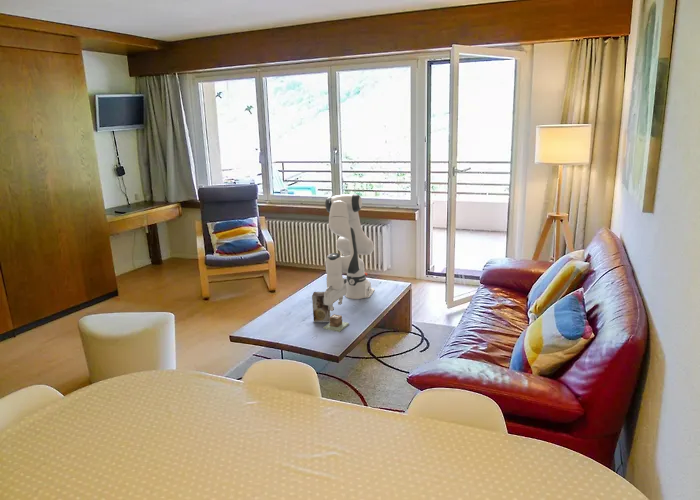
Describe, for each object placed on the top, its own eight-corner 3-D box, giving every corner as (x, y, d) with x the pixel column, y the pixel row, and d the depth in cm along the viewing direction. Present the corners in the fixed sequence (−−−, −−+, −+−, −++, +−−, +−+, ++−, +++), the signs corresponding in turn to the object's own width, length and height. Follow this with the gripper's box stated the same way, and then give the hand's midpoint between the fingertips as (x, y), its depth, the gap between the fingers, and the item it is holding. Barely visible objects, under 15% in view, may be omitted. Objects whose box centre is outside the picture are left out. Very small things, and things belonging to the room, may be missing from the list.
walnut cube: (342, 323, 277) (341, 315, 276) (337, 327, 273) (337, 318, 272) (334, 322, 280) (333, 314, 278) (329, 325, 275) (329, 317, 274)
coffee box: (330, 317, 289) (329, 291, 285) (329, 322, 283) (328, 295, 279) (315, 317, 290) (313, 291, 286) (313, 322, 284) (311, 295, 279)
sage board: (333, 321, 283) (333, 319, 283) (348, 324, 279) (348, 322, 279) (323, 328, 274) (323, 327, 274) (339, 331, 270) (339, 330, 269)
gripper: (330, 290, 260) (332, 315, 264) (348, 278, 277) (349, 301, 281) (320, 289, 263) (321, 313, 266) (338, 277, 280) (339, 300, 284)
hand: (336, 307), depth 274 cm, fingers open, 8 cm apart
